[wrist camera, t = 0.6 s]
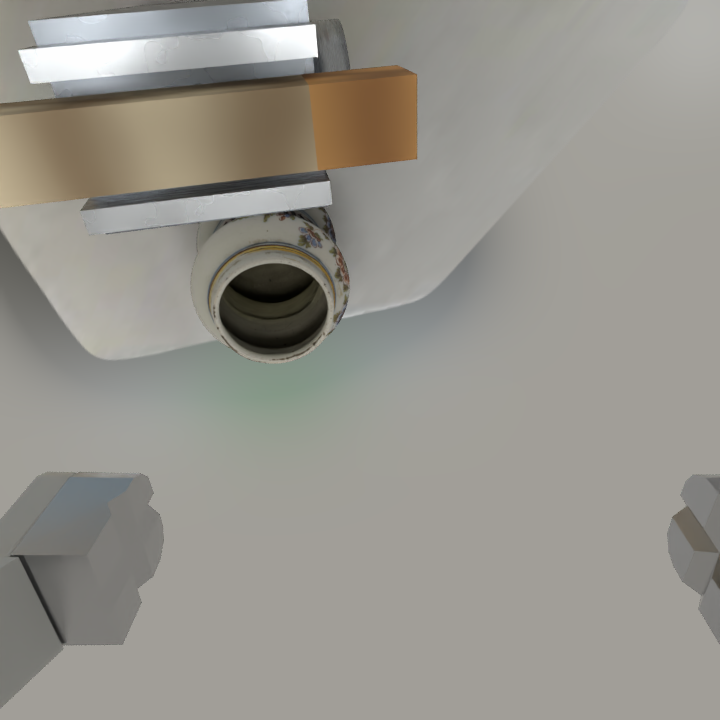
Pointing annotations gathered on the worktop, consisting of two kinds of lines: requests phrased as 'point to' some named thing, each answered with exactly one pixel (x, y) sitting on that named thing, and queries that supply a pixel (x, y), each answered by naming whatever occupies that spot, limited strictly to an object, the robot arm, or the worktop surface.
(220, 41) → the housing tower
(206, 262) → the apothecary jar
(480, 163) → the worktop surface
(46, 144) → the tan wooden bar
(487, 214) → the worktop surface
